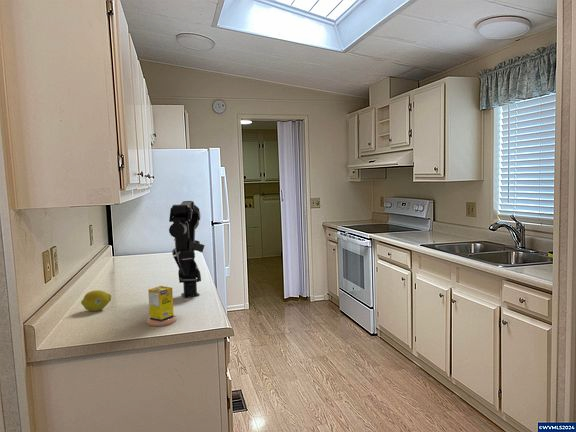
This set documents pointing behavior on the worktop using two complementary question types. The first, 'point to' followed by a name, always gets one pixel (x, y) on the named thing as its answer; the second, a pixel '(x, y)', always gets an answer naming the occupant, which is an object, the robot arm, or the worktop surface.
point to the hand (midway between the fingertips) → (184, 274)
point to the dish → (159, 323)
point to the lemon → (96, 300)
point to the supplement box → (161, 303)
